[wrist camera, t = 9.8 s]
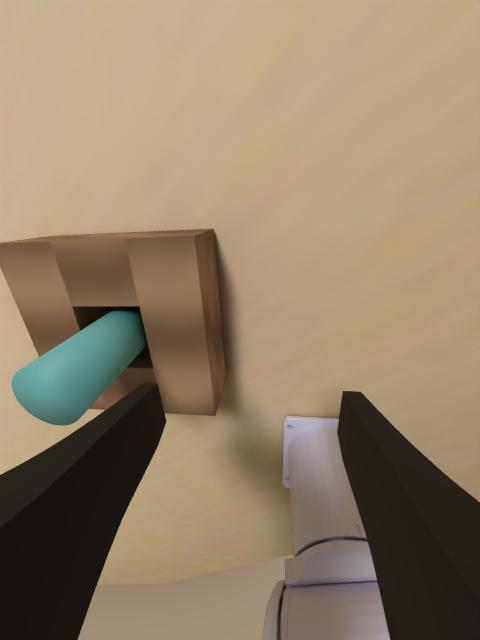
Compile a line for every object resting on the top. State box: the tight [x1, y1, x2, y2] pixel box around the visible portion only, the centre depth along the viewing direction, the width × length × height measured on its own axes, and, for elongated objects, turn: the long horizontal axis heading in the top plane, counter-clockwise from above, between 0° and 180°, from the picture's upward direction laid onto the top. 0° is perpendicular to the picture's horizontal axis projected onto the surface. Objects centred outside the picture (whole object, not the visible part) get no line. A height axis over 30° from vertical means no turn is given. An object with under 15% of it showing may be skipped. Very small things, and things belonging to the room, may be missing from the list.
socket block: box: [0, 229, 226, 416], centre depth 18 cm, size 12×12×4 cm
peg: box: [12, 306, 148, 425], centre depth 15 cm, size 3×3×9 cm
